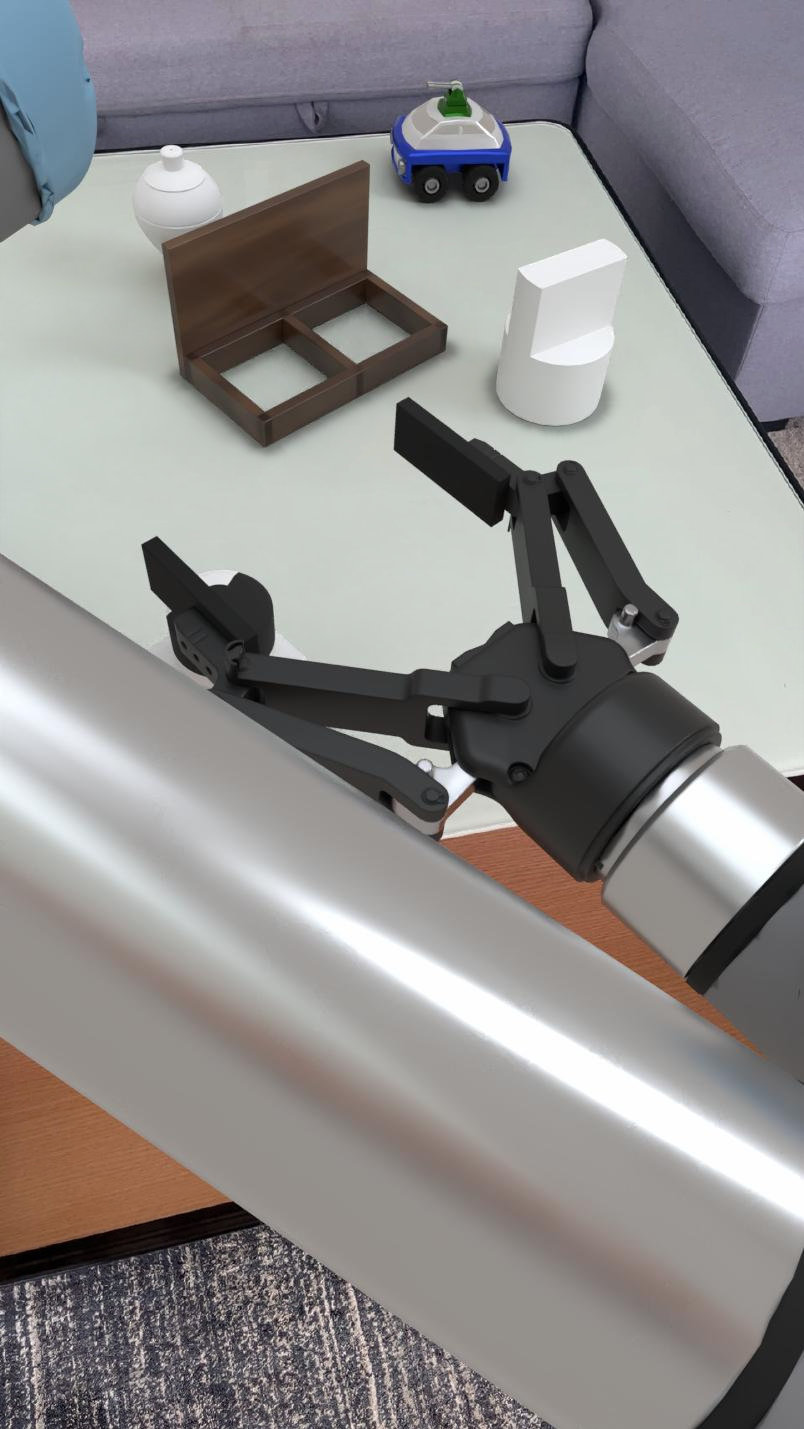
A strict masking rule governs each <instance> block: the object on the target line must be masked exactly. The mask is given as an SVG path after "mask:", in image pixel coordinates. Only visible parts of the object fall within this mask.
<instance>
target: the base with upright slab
mask: <svg viewBox="0 0 804 1429" xmlns="http://www.w3.org/2000/svg"><path fill="white" fill-rule="evenodd" d="M627 262H628V255H627V254H626V253H625V252H624V251H623V250H622V249H621V248H620V246H618V245H616V244H614V243H613V242H612V241H610V240H608V239H606V238H604V237H603V238H599V239H597V240H594V241H591V242H588V243H586V244H583V245H580V246H576V247H574V248H572V249H569V250H566V251H562V252H561V253H557V254H554V255H552V256H549V257H546V258H543V259H541V260H538V261H535V262H532V263H529V264H526V265H523V266H521V267H518V268H517V273H516V279H515V287H514V293H513V297H512V299H513V300H512V305H511V311H510V312H509V313H508V315H507V317H506V318H505V321H504V328H503V334H502V342H501V348H500V355H499V361H498V367H497V373H496V374H497V375H496V380H495V392H496V395H497V398H498V400H499V401H500V403H501V404H502V405H503V406H504V407H505V409H507V411H509V412H510V413H512V414H513V415H514V416H516V417H518V418H520V419H523V420H524V421H526V422H530V423H533V424H537V425H541V426H552V427H559V426H568V425H572V424H576V423H579V422H581V421H583V420H585V419H586V418H588V417H590V416H591V415H592V414H593V413H594V412H595V411H596V410H597V408H598V405H599V402H600V401H601V396H602V392H603V388H604V385H605V380H606V376H607V373H608V369H609V366H610V365H609V364H610V360H611V356H612V354H613V353H612V352H613V348H614V345H615V340H616V337H615V330H614V327H613V326H612V323H613V319H614V316H615V311H616V307H617V302H618V299H619V295H620V290H621V287H622V282H623V279H624V274H625V270H626V267H627Z"/></svg>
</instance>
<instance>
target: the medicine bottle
mask: <svg viewBox="0 0 804 1429" xmlns="http://www.w3.org/2000/svg"><path fill="white" fill-rule="evenodd" d="M196 574H197V573H196ZM197 575H198V576H199V577H200V578H201V579H202V580H203V581H204V582H205V583H206V584H207V585H208V586H209V587H210V588H211V589H213V590H214V591H215V592H216V593H217V594H218V595H219V596H220V597H221V598H222V599H223V600H224V601H225V602H226V603H227V604H228V605H229V606H230V607H231V608H232V609H233V610H234V611H235V612H236V613H237V614H238V615H239V616H240V617H241V618H242V619H244V620H245V621H246V622H247V623H248V624H249V625H250V626H251V627H252V628H253V629H254V630H255V631H256V632H257V633H258V639H259V650H260V654H262V655H269V656H276V657H284V658H291V659H298V660H306V661H309V660H308V658H307V657H306V656H305V655H304V654H303V653H302V652H301V651H300V650H298V649H297V647H295V645H293V644H292V643H291V642H289V640H288V639H286V638H285V637H284V636H283V635H282V634H281V633H280V632H279V631H277V630H276V626H275V614H274V602H273V598H272V596H271V593H270V592H269V591H268V590H267V588H266V587H265V586H264V584H263V583H261V582H260V581H259V580H258V579H257V578H256V579H255V578H254V577H252V576H250V575H249V574H246V573H244V572H241V571H236V570H232V569H212V570H207V571H202V572H199V573H198V574H197ZM174 617H176V615H175V614H174V613H173V612H172V611H171V610H170V609H169V608H168V607H167V606H166V608H165V618H166V623H167V628H168V633H169V635H168V636H166V637H165V638H163V639H161V640H160V641H158V642H156V643H155V644H153V645H151V646H150V647H149V648H147V649H146V650H148V651H149V652H151V653H152V654H154V655H155V656H157V657H158V658H160V659H161V660H163V661H164V662H166V663H167V664H169V665H170V666H172V667H173V668H175V669H176V670H178V671H179V672H181V673H182V674H184V675H185V676H187V677H188V678H190V679H192V680H193V681H195V682H196V683H198V684H199V685H201V686H202V687H204V688H205V689H211V688H212V687H213V686H214V684H213V683H212V682H211V681H210V680H209V679H208V678H207V677H206V676H205V675H204V674H203V673H202V672H201V671H200V670H199V669H198V668H197V667H196V665H194V664H193V663H192V662H191V661H190V659H188V658H187V657H186V656H185V655H184V654H183V653H182V652H181V649H180V646H179V643H178V640H177V635H176V629H175V624H174V619H173V618H174Z"/></svg>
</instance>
